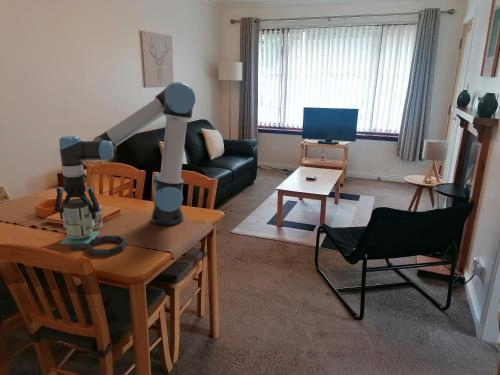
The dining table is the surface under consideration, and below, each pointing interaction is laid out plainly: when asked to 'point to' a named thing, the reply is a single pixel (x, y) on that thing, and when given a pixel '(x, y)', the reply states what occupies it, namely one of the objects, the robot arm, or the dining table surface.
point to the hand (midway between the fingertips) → (79, 226)
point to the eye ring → (98, 241)
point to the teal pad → (79, 239)
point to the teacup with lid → (98, 219)
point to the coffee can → (77, 219)
